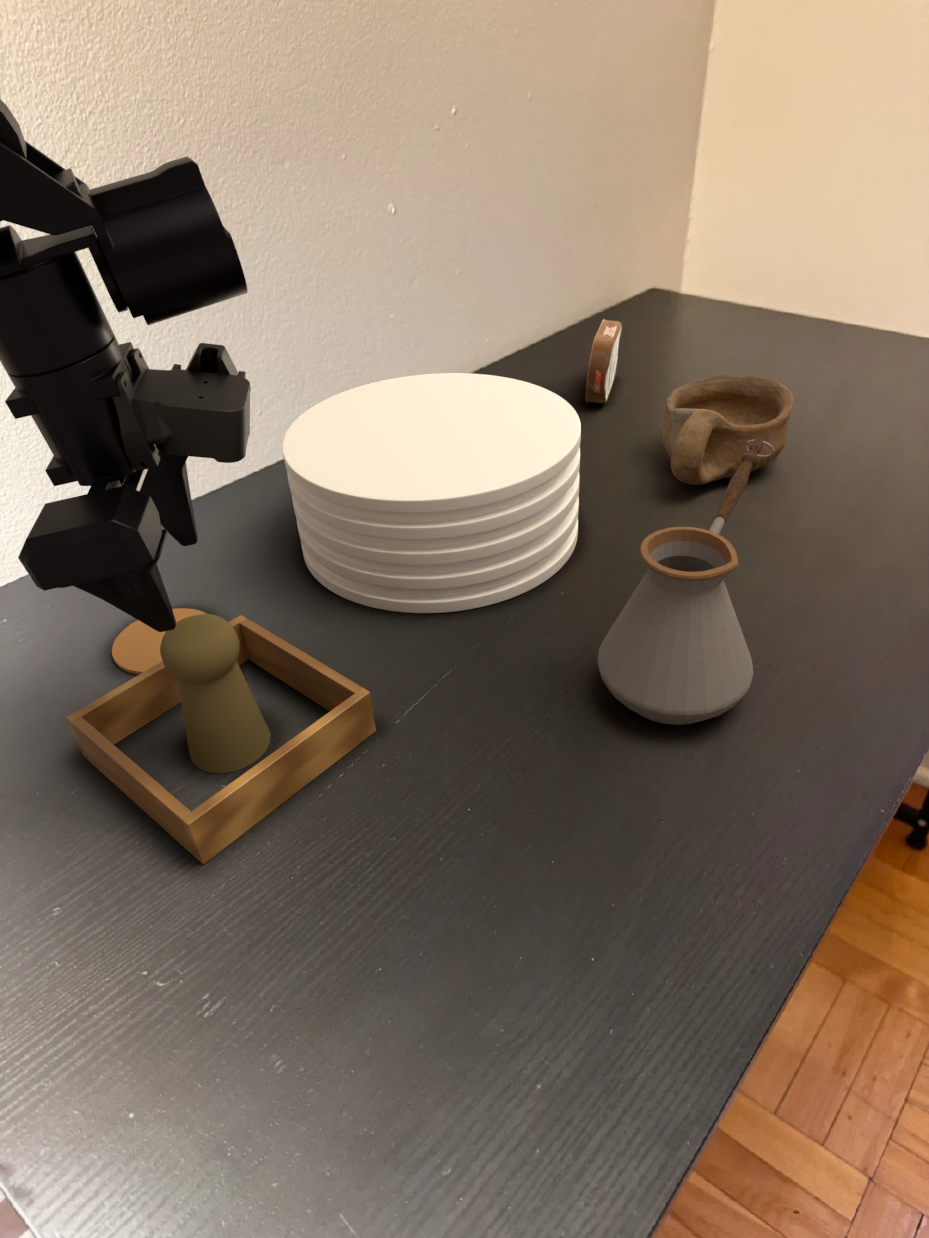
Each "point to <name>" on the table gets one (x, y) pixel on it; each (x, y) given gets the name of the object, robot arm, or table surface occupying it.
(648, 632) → the coffee pot
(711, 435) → the brown clay mug
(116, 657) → the coaster
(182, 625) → the pepper shaker
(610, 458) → the table surface
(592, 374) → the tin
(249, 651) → the wooden frame
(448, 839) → the table surface
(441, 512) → the plate stack
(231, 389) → the robot arm
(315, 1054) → the table surface
